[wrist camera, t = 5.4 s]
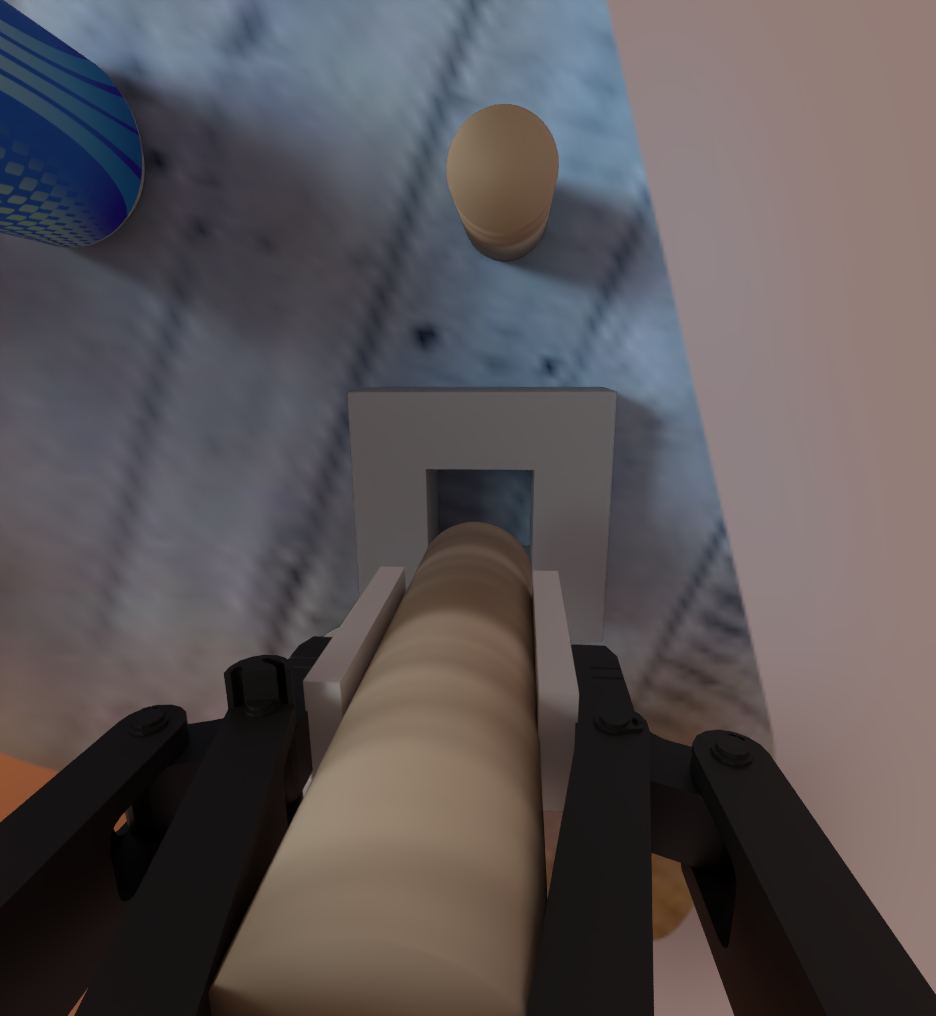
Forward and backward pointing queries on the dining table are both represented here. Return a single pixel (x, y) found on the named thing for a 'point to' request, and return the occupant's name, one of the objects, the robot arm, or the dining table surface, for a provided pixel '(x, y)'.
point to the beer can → (62, 141)
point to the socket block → (488, 446)
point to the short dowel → (503, 179)
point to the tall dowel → (416, 818)
